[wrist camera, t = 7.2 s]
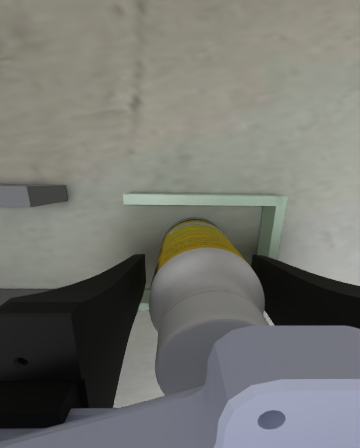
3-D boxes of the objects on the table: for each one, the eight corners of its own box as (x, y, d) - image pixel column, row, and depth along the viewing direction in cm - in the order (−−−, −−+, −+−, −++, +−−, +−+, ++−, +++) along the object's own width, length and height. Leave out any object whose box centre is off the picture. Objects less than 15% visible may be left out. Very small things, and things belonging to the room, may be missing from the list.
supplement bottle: (153, 225, 14) (104, 318, 5) (218, 209, 14) (307, 272, 4) (170, 282, 15) (159, 444, 6) (229, 268, 15) (318, 415, 6)
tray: (258, 296, 16) (268, 310, 14) (136, 296, 16) (130, 310, 14) (273, 194, 14) (287, 196, 12) (130, 192, 13) (123, 194, 12)
